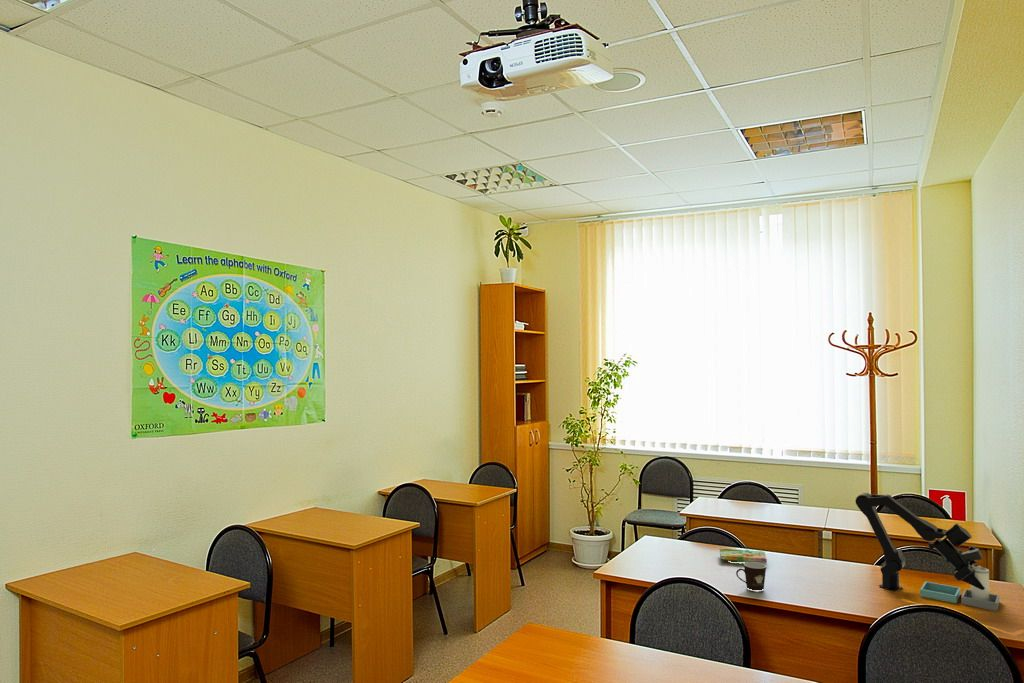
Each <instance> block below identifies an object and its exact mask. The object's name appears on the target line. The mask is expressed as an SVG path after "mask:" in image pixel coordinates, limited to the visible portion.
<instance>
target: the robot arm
mask: <svg viewBox="0 0 1024 683" xmlns="http://www.w3.org/2000/svg"><path fill="white" fill-rule="evenodd" d="M855 504H856V506H857V508H858V509H859V510H860V512H861V513H862V514H863V515H864V516H865V517H866V518H867V520H868V523H869V524H870V525H869V526H871V528H872V531H873V533H874V534H875V536H876V539H877V540H878V543H879V544H880V546H881V549H882V552H883V557H884V562H885V563H884V564H883V565H882V566H881V568H880V569H879V570H880V572H881V574H882V575H881V578H882V579H881V580H882V582H881V584H879V585H878V587H879V586H880V587H879V588H882V587H883V588H882V589H885V588H886V590H889V589H890V590H889V591H892V590H893V592H895V591H894V590H896V591H898V590H903V589H904V587H903V586H900V574H899V573H900V571H902V569H903V568H904V567H905V565H906V556H904V554H903V551H902V548H899V549H897V548H896V547H895V546H894V544H893V542H892V540H891V538H890V536H889V534H888V532H887V530H886V527H885V525H884V524H883V522H882V519H881V517H880V516H879V515H878V509H877V507H880V506H886V507H887V508H888V509H889V510H891V512H893V513H894V514H896V515H897V516H898V517H900V518H901V519H902V520H904V521H905V522H906V523H907V524H909V525H910V526H911V527H912V528H913V529H914V531H915V532H916V533H917V534H918V535H919V536H920V537H921V539H923V540H925V541H927V542H928V551H932V550H933V549H935V550H936V551H937V552H938V553H939V554H940V555H941V556H942V557H943V558H944V559H945V563H949V564H950V565H951V566H952V567H953V569H954V571H955V572H954V574H953V576H954V579H956V580H957V582H960V581H961V582H964V583H966V584H969V585H970V586H971V585H973V586H975V587H977V588H979V589H981V590H984V589H985V588H984V586H983V585H982V584H981V583H980V581H979V580H978V579H977V577H976V576H975V570H972V568H971V567H978V561H979V560H982V559H983V554H982V552H981V550H980V548H977V547H975V545H972V546H969V547H968V550H966V551H963V550H961V549H958V548H956V546H958V547H961V546H962V545H963V544H965V543H966V542H968V541H969V540H971V538H972V535H971V533H970V532H969V531H968V530H967V529H966V528H964V527H963V526H961V525H959V523H955V524H953V526H951V527H950V528H949V529H948V530H947V529H945V528H944V529H943V528H940V527H938V526H936V525H935V524H933V523H931V522H929V521H927V520H925V519H923V518H921V517H919V516H917V515H916V514H915V513H913V511H911V510H909V509H908V508H907V507H906V506H904V505H903V504H902V503H900V502H899V501H898V500H896V499H895V498H894V497H893V496H892V495H890V494H871V493H869V492H862V493H860V494H859V495H858V496H856V497H855ZM974 564H975V565H974Z"/></svg>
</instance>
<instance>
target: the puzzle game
mask: <svg viewBox="0 0 1024 683" xmlns="http://www.w3.org/2000/svg"><path fill="white" fill-rule="evenodd" d="M719 557H720V559H721V560H727V562H728V561H731V562H745V563H746V562H758V563H762V564H765V565H766V563H767V562H768V561H767V560H768V559H767V556H766V553H765V551H764V550H749V549H733V548H732V549H731V548H719Z"/></svg>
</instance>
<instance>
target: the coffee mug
mask: <svg viewBox="0 0 1024 683" xmlns="http://www.w3.org/2000/svg"><path fill="white" fill-rule="evenodd" d="M743 567H744V569H743V568H738V569H737V570H736V572H735V573H736V574H735V575H736V577H737V578H738V579H739V580H740V581H741V582H743V583H745V584H746V589H747V588H749V589H752V590H762V589H764V588H765V580H766V572H767V565H766V563H765V564H762V563H758V562H746V563H744V565H743ZM740 571H742V572H744V576H745V580H744V579H742V578H741V577H740V576H739V574H738V573H739V572H740Z"/></svg>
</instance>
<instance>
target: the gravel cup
mask: <svg viewBox="0 0 1024 683" xmlns="http://www.w3.org/2000/svg"><path fill="white" fill-rule="evenodd" d="M971 568H972V570H975V576H976V577H977V579H978V580H979V581H980V583H981V584H982V585H983V586H984V588H985V589H984V590H981V589H979V588H977V587H975V586H973V585H971V584H970V586H971V589H970V590H972V598H973V599H978V600H984V601H989V593H990V570H989V569H988V568H986V567H983V566H981V565H979V566H978V567H971Z"/></svg>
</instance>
